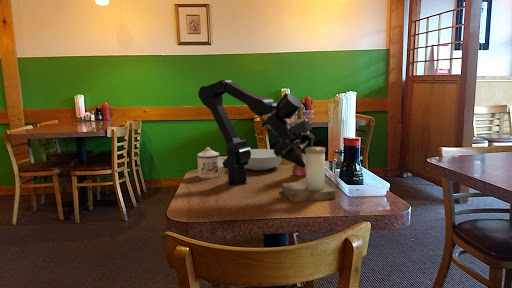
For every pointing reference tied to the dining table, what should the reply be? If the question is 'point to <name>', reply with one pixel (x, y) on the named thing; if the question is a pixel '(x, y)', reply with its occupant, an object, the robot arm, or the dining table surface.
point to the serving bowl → (262, 159)
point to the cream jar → (315, 168)
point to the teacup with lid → (209, 164)
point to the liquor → (299, 170)
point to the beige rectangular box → (306, 192)
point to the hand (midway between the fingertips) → (311, 164)
